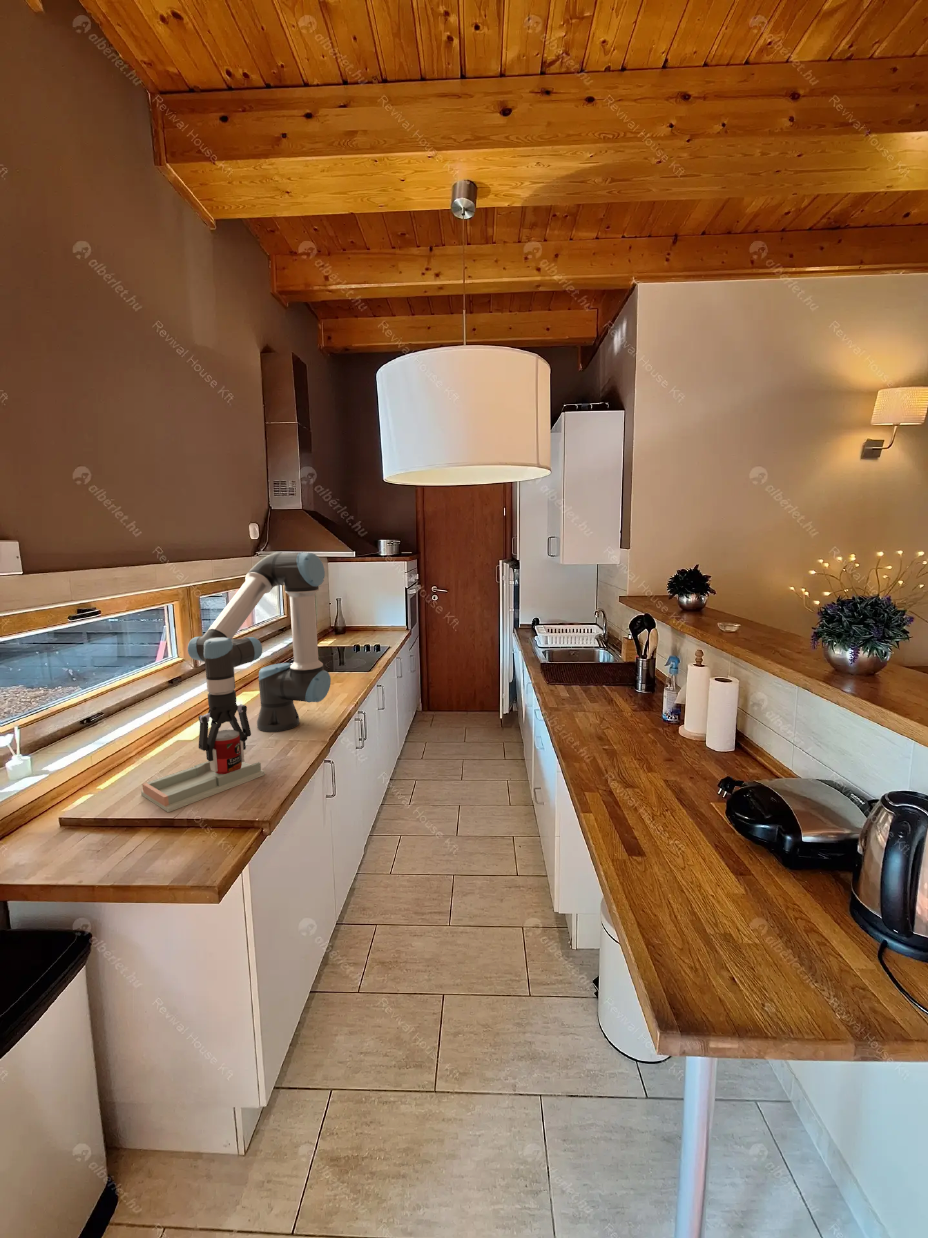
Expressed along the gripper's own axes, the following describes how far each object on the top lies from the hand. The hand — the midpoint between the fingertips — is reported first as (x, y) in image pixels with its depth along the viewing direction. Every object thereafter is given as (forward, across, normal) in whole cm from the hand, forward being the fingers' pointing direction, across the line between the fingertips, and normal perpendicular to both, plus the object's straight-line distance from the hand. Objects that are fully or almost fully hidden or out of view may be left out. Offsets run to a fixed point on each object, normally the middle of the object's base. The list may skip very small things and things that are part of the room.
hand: (227, 765), depth 164 cm
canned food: (+1, 0, 0) cm, 1 cm away
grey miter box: (+3, +7, 0) cm, 8 cm away
